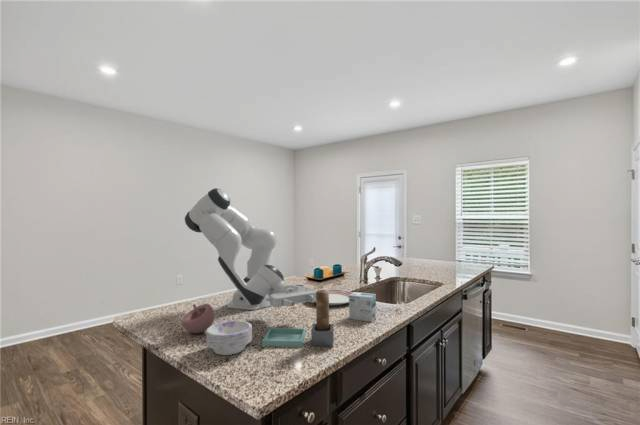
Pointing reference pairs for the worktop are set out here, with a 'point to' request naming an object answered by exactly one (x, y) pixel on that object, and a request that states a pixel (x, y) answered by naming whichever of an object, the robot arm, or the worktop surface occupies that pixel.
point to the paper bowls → (229, 337)
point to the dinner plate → (337, 296)
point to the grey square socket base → (322, 336)
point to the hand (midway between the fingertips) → (303, 302)
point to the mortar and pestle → (199, 319)
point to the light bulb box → (362, 306)
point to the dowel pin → (322, 310)
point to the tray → (284, 337)
